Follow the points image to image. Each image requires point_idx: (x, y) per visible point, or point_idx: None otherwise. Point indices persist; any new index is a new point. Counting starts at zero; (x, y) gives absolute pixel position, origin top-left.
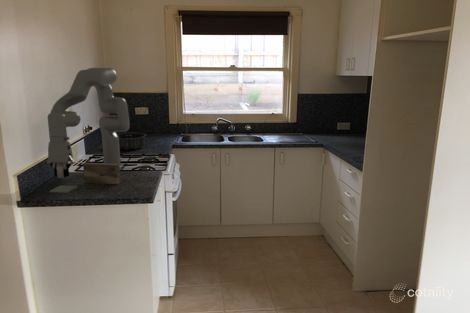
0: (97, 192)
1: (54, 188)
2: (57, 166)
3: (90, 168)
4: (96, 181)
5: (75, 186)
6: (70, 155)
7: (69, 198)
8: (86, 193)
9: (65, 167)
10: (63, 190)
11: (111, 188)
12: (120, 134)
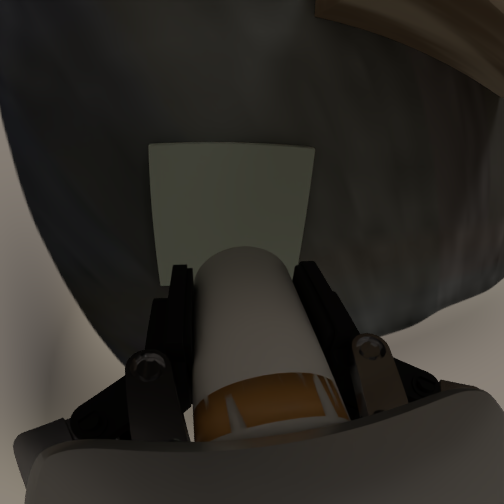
0: (444, 239)
1: (156, 232)
2: None
3: (469, 19)
4: (417, 45)
5: (304, 158)
6: (499, 481)
7: None
8: (401, 262)
9: (348, 404)
10: None
11: (488, 171)
12: None
